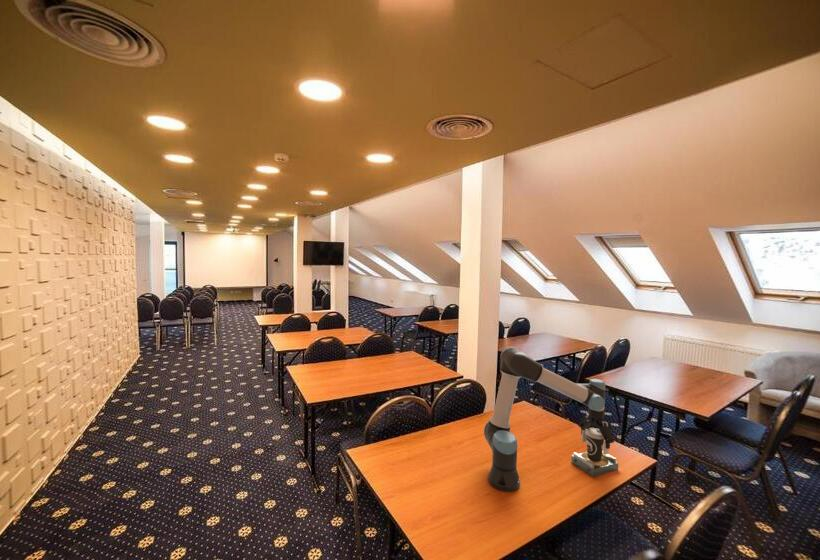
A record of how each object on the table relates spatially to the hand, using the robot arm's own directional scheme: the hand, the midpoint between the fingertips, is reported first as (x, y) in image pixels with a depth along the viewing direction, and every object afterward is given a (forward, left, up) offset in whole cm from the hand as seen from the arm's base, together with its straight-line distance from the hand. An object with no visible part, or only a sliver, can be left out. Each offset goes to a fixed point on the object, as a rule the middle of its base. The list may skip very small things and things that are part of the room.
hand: (594, 447), depth 185 cm
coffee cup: (0, 0, -6) cm, 6 cm away
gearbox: (0, 0, -10) cm, 10 cm away
